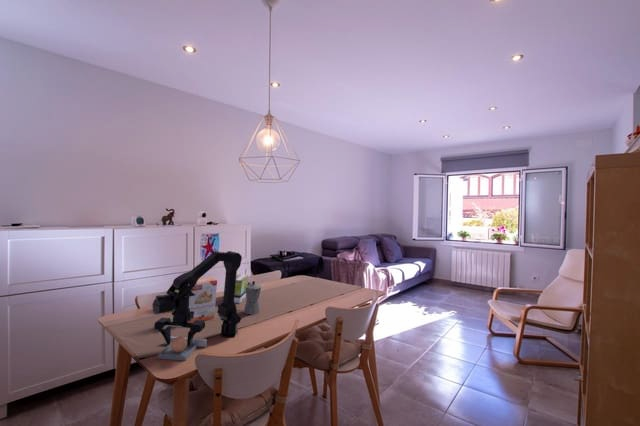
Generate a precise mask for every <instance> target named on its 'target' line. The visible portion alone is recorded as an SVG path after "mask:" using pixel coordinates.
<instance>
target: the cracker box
mask: <svg viewBox="0 0 640 426" xmlns="http://www.w3.org/2000/svg"><path fill="white" fill-rule="evenodd" d="M217 288H218V280H217V279H215V278H213V277H212V278H211V277H209V278H203V279H198V281H197V283H196V285H195V286H194V287H193V288H192V290H191V291H192V293H194V294H195V295H194V296H190V297H189V308H190V311H194V316H193V319H191V320H190V321H188V323H193V322H194V321H195V320H200V321H204V322H205V321H208V320H211V319H215V314H216V313H215V311H216V310H215V309H216V301H217Z"/></svg>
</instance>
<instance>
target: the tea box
mask: <svg viewBox="0 0 640 426" xmlns="http://www.w3.org/2000/svg"><path fill="white" fill-rule="evenodd" d="M248 281H249V275H248V274H241V273H240V274H239V273H236V284H235V295H234V302H235V304H241V303H242V302H243V300H245V298H246V288H245V287H246V285H247V284H248Z"/></svg>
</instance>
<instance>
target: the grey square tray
mask: <svg viewBox="0 0 640 426" xmlns="http://www.w3.org/2000/svg"><path fill="white" fill-rule="evenodd" d="M171 343H172V342H171ZM171 343H170V344H169V345H168V344H167V346H166V347H164V349H162V350H161V351H160V352H159V353H158V354H157V359H160V360H173V361H174V360H175V361H187V360H188V358H189V357H190V356H191V355H192V354H193V352H195V351H196V349H197V348H198V346H197V344H195V343H191V344H190V346H189V347H188V344H187V346H186V348H185V349H184V350H183V351H182V352H179V353H176V352H173V351H172V349H171Z"/></svg>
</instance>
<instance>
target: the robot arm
mask: <svg viewBox="0 0 640 426" xmlns="http://www.w3.org/2000/svg"><path fill="white" fill-rule="evenodd" d="M242 260H243V258H242V255H241V254H240V253H239V252H236V251H232V250H228V251H226V252H223V251H217V250H216V251H215V250H214V251H212V252H211V254H210V255H208V256H207V257H206V258H205V259H204V260H202V261H201V262H200V263H198V264H197V265H196V266H195V267H193V268H192V269H191V270H189V271H188V272H187V271H186V272H184V273H182V274H180V275H178V276H177V277H175V278H174V279H173V281H172V284H171V285H170V287H169V288H168V290H167V291H166V294H162V295H160V294H158V295H156V296H155V299H154V300H153V303H152V311H153V313H154V315H160V314H164V313H167V312H171V316H172V319H171V318H170V317H161V318H159V319H158V320H157V321H155V322H154V324H153V329H154V330H157V331H158V332H160V333H161V335H162V336H163V338H164V341H165V340H166V342H167V344H166V345H167V346H168V345H169V344H170V340H171V337H172V336H171V333H172V330H171V329H172V327H173V328H186V329H187V328H188V329H189V331H188V332H187V338H188V343H187V344H188V347H189V346H190V344H191V341H192V339H193V338H194V336H195V335H196V334H198V333H201V332H202V331H203V330H204V329H205V328H206V322H205V320H204V321H200V320H195V321H194V322H193V323H188V321H190V320H191V319H193V316H194V311H190V308H189V297H190V296H194V295H195V294H194V293H192V291H191V290H192V288H193V287H194V286H195V285H196V283H197V281H198V280H200V278H202V277H203V276H204V275H205V274H206V273H208V272H209V271H210V270H211V269H212V268H213V267H215V266H216V265H217V264H218V263H219V262H223V266H224V268H225V278H224V287H223V289H224V290H223V291H224V292H223V299H222V302H221V303H219V304H217V312H216V313H217V314H218V317H219V318H220V320H221V321H222V324H221V330H220V337H228V338H235V337H236V335H237V334H238V332H239V331H238V324H240V323H241V320H242V317H240V316H239V315H238V313H237V306H236V303H235V302H234V295H235V284H236V274H238V273H237V272H238V270H239V268H240V267H241V264H242ZM175 290H177V291H179V292H175Z"/></svg>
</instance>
